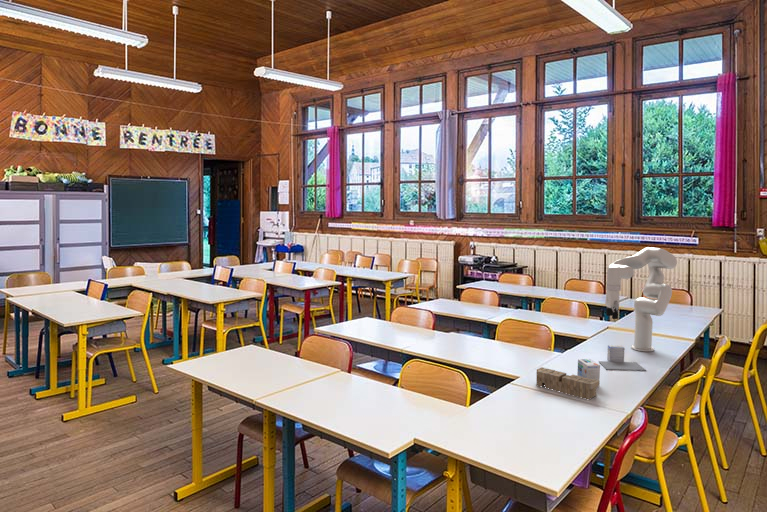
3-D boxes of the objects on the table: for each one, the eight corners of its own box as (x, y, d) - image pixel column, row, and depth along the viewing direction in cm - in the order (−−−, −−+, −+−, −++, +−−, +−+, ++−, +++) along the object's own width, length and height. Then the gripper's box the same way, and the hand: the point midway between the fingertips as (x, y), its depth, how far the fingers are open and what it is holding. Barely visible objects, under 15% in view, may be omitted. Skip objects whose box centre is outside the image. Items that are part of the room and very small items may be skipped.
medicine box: (621, 360, 301) (622, 345, 301) (624, 362, 297) (624, 347, 296) (606, 360, 302) (607, 345, 301) (609, 362, 298) (610, 347, 297)
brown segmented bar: (533, 387, 260) (591, 401, 239) (533, 370, 259) (591, 382, 238) (542, 383, 265) (599, 396, 244) (542, 367, 265) (599, 378, 243)
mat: (598, 362, 298) (598, 361, 297) (636, 363, 296) (636, 362, 296) (606, 369, 284) (606, 368, 284) (645, 371, 282) (645, 369, 282)
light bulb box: (576, 380, 267) (577, 359, 266) (589, 379, 268) (590, 358, 267) (586, 387, 257) (587, 365, 256) (599, 386, 257) (600, 365, 256)
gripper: (601, 285, 314) (600, 314, 315) (611, 289, 297) (610, 320, 298) (615, 285, 313) (613, 314, 315) (625, 290, 296) (624, 320, 298)
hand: (612, 317), depth 306 cm, fingers open, 9 cm apart
